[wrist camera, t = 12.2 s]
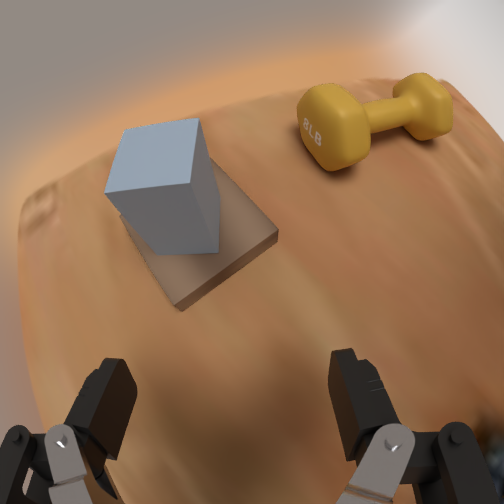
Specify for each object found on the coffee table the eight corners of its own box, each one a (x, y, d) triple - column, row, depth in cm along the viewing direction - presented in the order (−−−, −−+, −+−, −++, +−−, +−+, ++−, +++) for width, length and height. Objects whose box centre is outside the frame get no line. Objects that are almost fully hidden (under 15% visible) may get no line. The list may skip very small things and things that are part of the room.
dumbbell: (401, 105, 33) (419, 61, 25) (443, 150, 29) (470, 107, 22) (286, 132, 30) (290, 73, 23) (329, 192, 27) (348, 133, 20)
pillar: (220, 197, 24) (199, 117, 16) (218, 253, 22) (189, 183, 14) (164, 202, 24) (124, 129, 16) (157, 255, 22) (104, 193, 14)
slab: (213, 175, 29) (209, 156, 26) (276, 244, 26) (278, 229, 23) (131, 230, 27) (119, 215, 24) (183, 313, 24) (173, 305, 21)
